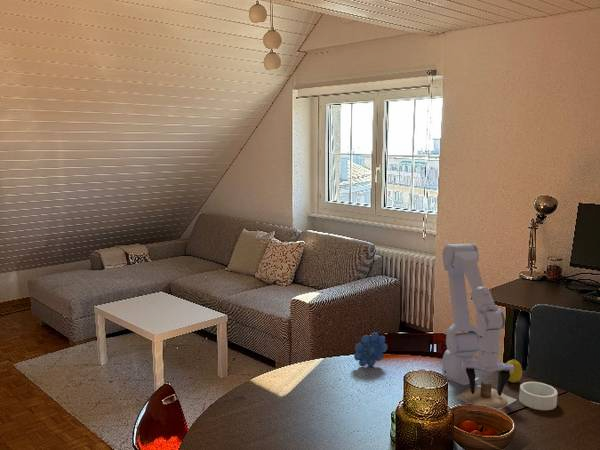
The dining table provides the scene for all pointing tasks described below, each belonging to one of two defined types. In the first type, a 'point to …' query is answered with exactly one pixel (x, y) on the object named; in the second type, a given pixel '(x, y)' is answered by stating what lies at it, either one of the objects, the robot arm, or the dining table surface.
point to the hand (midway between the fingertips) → (485, 393)
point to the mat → (462, 395)
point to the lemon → (515, 371)
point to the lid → (486, 396)
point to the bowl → (538, 395)
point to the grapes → (370, 349)
